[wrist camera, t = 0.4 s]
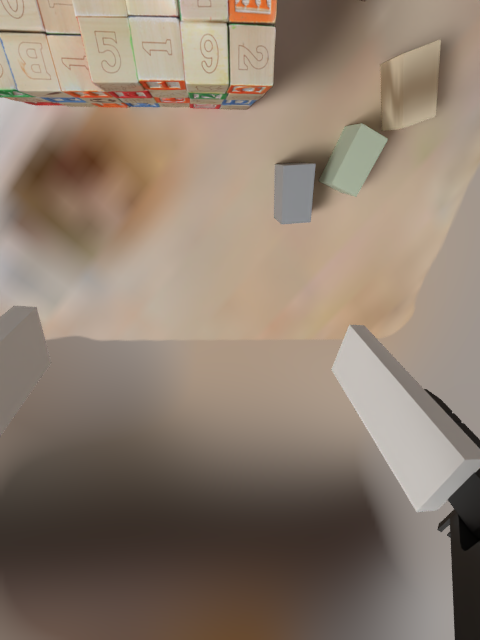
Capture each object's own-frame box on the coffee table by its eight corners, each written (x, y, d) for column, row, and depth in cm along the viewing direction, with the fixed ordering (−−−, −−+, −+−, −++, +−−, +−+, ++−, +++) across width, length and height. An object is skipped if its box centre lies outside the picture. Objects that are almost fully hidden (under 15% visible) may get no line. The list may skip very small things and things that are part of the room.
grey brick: (274, 164, 32) (283, 165, 29) (303, 162, 33) (315, 163, 29) (273, 217, 36) (281, 224, 32) (300, 215, 36) (310, 222, 32)
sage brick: (344, 126, 31) (362, 123, 28) (368, 140, 32) (388, 139, 29) (318, 181, 34) (331, 184, 31) (341, 192, 35) (356, 196, 32)
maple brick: (379, 64, 29) (403, 53, 26) (412, 52, 29) (440, 39, 25) (381, 130, 32) (402, 128, 29) (410, 120, 32) (435, 116, 28)
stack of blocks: (35, 108, 27) (-67, 81, 17) (6, 18, 24) (-141, -85, 14) (248, 109, 29) (275, 87, 19) (249, 27, 26) (282, -55, 16)
